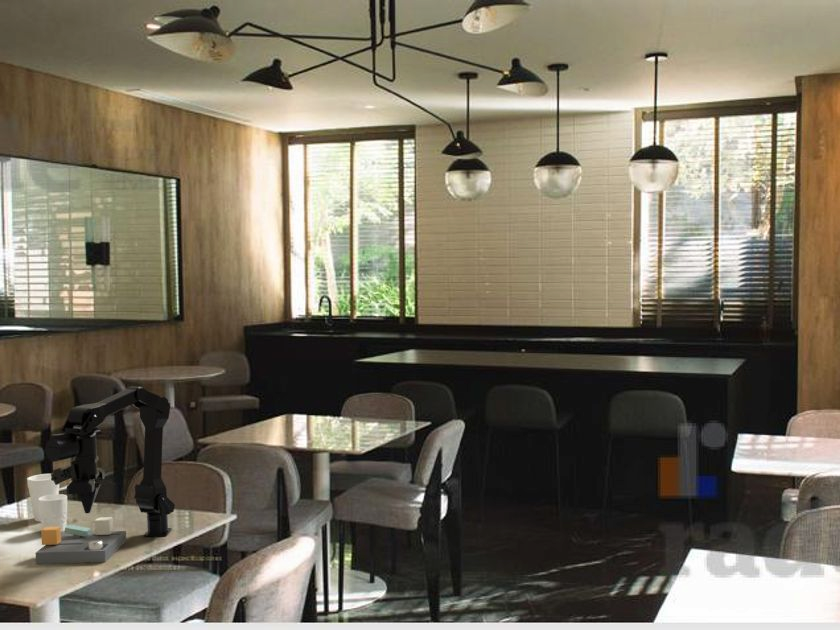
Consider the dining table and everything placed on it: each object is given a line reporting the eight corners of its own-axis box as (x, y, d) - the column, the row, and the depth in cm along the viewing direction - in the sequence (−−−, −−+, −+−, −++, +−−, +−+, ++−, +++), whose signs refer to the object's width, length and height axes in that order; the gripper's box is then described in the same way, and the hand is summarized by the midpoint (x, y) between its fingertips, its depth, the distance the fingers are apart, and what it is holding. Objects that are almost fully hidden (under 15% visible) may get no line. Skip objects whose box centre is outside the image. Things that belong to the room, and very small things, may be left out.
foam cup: (29, 516, 287) (27, 475, 286) (61, 513, 290) (59, 472, 289) (29, 524, 278) (27, 481, 277) (62, 520, 281) (60, 478, 281)
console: (61, 543, 257) (61, 531, 257) (126, 541, 258) (125, 529, 257) (36, 564, 239) (35, 550, 239) (105, 562, 240) (104, 548, 239)
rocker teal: (68, 529, 255) (69, 524, 254) (89, 533, 255) (90, 528, 255) (64, 532, 252) (65, 527, 252) (85, 536, 252) (86, 531, 252)
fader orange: (46, 541, 248) (45, 526, 247) (61, 541, 248) (60, 526, 247) (41, 544, 245) (41, 530, 244) (56, 544, 245) (56, 529, 244)
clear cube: (91, 555, 245) (91, 540, 245) (105, 554, 245) (104, 539, 245) (87, 559, 241) (86, 544, 241) (100, 558, 241) (100, 543, 241)
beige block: (98, 531, 256) (98, 517, 256) (113, 531, 256) (112, 517, 256) (95, 534, 253) (94, 520, 253) (109, 534, 253) (109, 520, 253)
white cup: (58, 535, 265) (57, 501, 265) (34, 534, 267) (32, 500, 267) (74, 527, 273) (72, 494, 273) (50, 526, 275) (48, 493, 274)
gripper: (61, 449, 250) (63, 506, 250) (44, 463, 231) (46, 524, 232) (104, 447, 251) (106, 503, 252) (90, 460, 233) (92, 521, 234)
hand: (87, 513), depth 243 cm, fingers closed
